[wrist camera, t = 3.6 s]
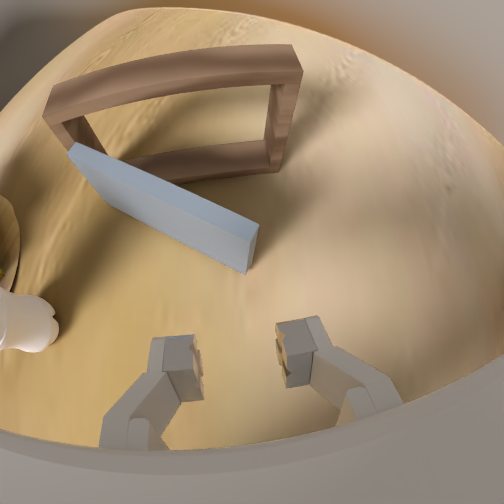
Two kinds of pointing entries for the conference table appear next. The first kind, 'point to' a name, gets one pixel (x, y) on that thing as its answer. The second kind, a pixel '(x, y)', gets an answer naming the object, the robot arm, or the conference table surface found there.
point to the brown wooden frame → (181, 81)
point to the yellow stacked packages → (8, 243)
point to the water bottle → (26, 322)
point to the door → (170, 208)
